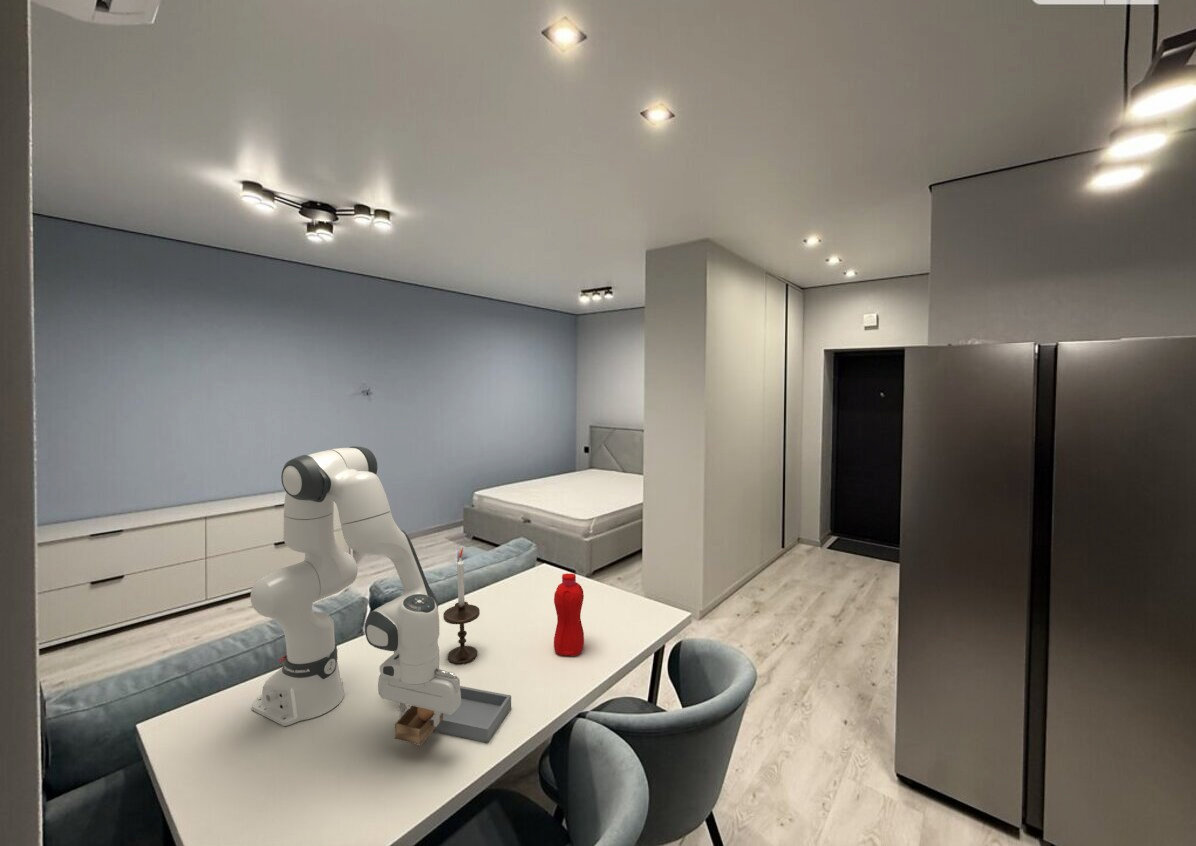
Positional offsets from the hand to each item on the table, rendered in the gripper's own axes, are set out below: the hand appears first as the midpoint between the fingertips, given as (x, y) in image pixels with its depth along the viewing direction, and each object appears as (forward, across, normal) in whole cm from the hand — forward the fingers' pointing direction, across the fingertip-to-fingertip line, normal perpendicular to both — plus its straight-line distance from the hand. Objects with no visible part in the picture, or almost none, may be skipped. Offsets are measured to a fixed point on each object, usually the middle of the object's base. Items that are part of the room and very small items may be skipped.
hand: (419, 720), depth 115 cm
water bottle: (+6, -21, -50) cm, 54 cm away
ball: (-1, 0, -3) cm, 3 cm away
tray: (+6, -5, -12) cm, 14 cm away
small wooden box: (+2, 0, 0) cm, 2 cm away
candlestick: (+7, +10, -36) cm, 38 cm away
